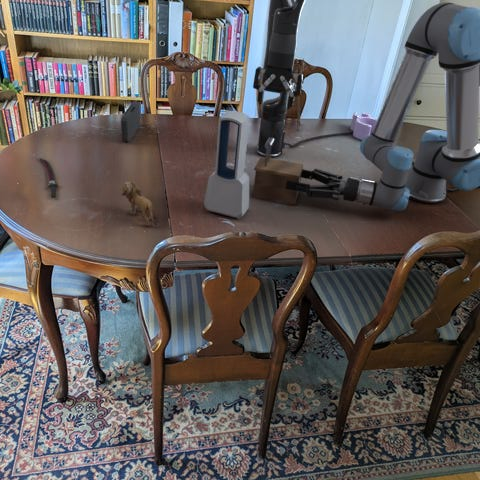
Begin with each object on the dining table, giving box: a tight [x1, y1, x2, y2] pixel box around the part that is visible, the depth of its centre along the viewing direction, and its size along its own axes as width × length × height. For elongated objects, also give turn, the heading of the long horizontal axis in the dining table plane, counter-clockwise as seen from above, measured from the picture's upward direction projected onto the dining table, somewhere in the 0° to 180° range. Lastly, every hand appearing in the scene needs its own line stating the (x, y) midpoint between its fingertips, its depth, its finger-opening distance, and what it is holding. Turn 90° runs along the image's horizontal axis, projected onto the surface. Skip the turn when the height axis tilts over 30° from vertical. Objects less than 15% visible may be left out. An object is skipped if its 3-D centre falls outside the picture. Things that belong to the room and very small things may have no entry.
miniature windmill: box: [285, 58, 305, 131], centre depth 208 cm, size 9×8×30 cm
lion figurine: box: [119, 181, 159, 227], centre depth 134 cm, size 15×5×9 cm, turn 50°
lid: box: [253, 137, 305, 178], centre depth 148 cm, size 14×10×9 cm
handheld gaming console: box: [120, 101, 141, 143], centre depth 188 cm, size 23×3×10 cm, turn 178°
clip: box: [349, 112, 378, 141], centre depth 214 cm, size 20×12×7 cm, turn 11°
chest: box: [252, 168, 304, 206], centre depth 153 cm, size 14×10×10 cm
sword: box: [40, 158, 59, 198], centre depth 151 cm, size 31×3×1 cm, turn 26°
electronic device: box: [203, 110, 251, 220], centre depth 135 cm, size 12×8×30 cm, turn 71°
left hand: (274, 106), depth 141 cm, fingers open, 8 cm apart
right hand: (288, 177), depth 152 cm, fingers closed on chest, 10 cm apart
